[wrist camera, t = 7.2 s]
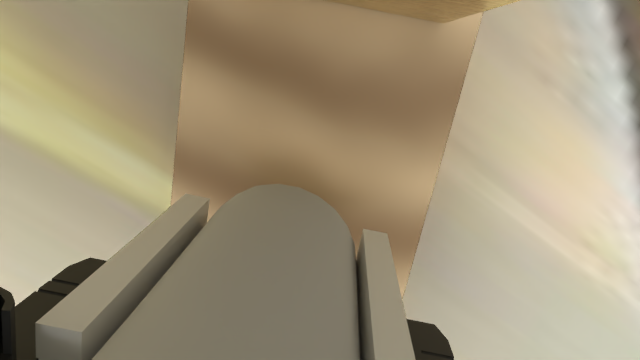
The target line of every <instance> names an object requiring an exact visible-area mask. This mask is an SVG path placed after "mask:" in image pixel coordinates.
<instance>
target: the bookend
mask: <svg viewBox="0 0 640 360" xmlns="http://www.w3.org/2000/svg"><path fill="white" fill-rule="evenodd" d="M325 1H330V2H335V3H340V4H345V5H350V6H356V7H361V8H366V9H371V10H376V11H381V12H386V13H391V14H397V15H402V16H407V17H412V18H417V19H422V20H427V21H432V22H437V23H443V24H444V23H447V22H450V21H454V20H457V19H460V18H463V17H467V16H470V15H473V14H477V13H480V12H483V11H487V10H490V9H493V8H497V7H500V6H503V5H507V4H510V3H513V2H517V1H520V0H325Z"/></svg>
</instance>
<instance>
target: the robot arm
mask: <svg viewBox="0 0 640 360" xmlns="http://www.w3.org/2000/svg"><path fill="white" fill-rule="evenodd" d="M209 201H210V198H206V197H200V196H195V195H190V194H185V195H183V196H182V197H181V198H180V199H179V200H178V201H176V202H175V203H174V204H173V205H172V206H171V207H170V208H168V209H167V210H166V211H165V212H164V213H163V214H161V215H160V216H159V217H158V218H157V219H156V220H154V221H153V222H152V223H151V224H150V225H149V226H147V227H146V228H145V229H144V230H143V231H142V232H140V233H139V234H138V235H137V236H136V237H135V238H133V239H132V240H131V241H130V242H129V243H128V244H127V245H125V246H124V247H123V248H122V249H121V250H120V251H118V252H117V253H116V254H115V255H114V256H113V257H111V258H110V259H109V260H108V261H104V260H99V259H94V258H88V259H86V260H83V261H81V262H78V263H75V264H73V265H70V266H68V267H67V268H65V269H64V270H63V271H61V272H60V273H59V274H57V275H56V276H55V277H54V278H52V281H48V282H47V283H46V284H44V285H43V286H42V287H40V288H39V290H38V292H36V291H35V292H34V293H32V294H31V295H30V296H28V297H27V298H26V299H25V300H23V301H22V302H21V303H19V304H18V305H17V306H15V301H14V298H13V296H12V294H11V293H10V292H9V291H7V290H5V289H3V288H1V287H0V360H91V359H92V358H93V357H94V356H95V355H96V354H97V353H98V351H99V350H100V349H101V348H102V347H103V346H104V344H105V343H106V342H107V341H108V340H109V339H110V338H111V336H112V335H113V334H114V333H115V332H116V331H117V330H118V328H119V327H120V326H121V325H122V324H123V323H124V321H125V320H126V319H127V318H128V317H129V316H130V314H131V313H132V312H133V311H134V310H135V308H136V307H137V306H138V305H139V304H140V302H141V301H142V300H143V299H144V298H145V297H146V295H147V294H148V293H149V292H150V291H151V289H152V288H153V287H154V286H155V285H156V283H157V282H158V281H159V280H160V279H161V277H162V276H163V275H164V274H165V273H166V271H167V270H168V269H169V268H170V267H171V265H172V264H173V263H174V262H175V261H176V259H177V258H178V257H179V256H180V255H181V253H182V252H183V251H184V250H185V249H186V247H187V246H188V245H189V244H190V243H191V241H192V240H193V239H194V238H195V237H196V235H197V234H198V233H199V232H200V231H201V229H202V228H203V227H204V226H205V224H206V223H207V218H208V209H209ZM356 268H357V290H358V312H359V334H360V356H361V360H454V356H453V353H452V350H451V347H450V345H449V342H448V340H447V339H446V337H445V336H444V335H443V334H442V333H441V332H440V330H439V329H438V328H437V327H436V326H435V325H434V324H429V323H424V322H419V321H414V320H408V319H406V315H405V310H404V306H403V301H402V297H401V293H400V288H399V284H398V279H397V275H396V270H395V266H394V261H393V257H392V252H391V248H390V244H389V239H388V235H387V233H382V232H377V231H372V230H367V229H363V231H362V235H361V240H360V244H359V248H358V252H357V257H356Z"/></svg>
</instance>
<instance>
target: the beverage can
mask: <svg viewBox="0 0 640 360" xmlns="http://www.w3.org/2000/svg"><path fill="white" fill-rule="evenodd" d="M91 360H361V356H360V334H359V312H358V290H357V268H356V254H355V244H354V241H353V239H352V236H351V233H350V231H349V228H348V226H347V225H346V223H345V222H344V220H343V219H342V218H341V216H340V215H339V214H338V212H337V211H336V210H335V209H334V208H333V207H332V206H330V205H329V204H328V203H327V202H325V201H324V200H323V199H322V198H320V197H319V196H317V195H315V194H313V193H311V192H308V191H306V190H304V189H302V188H300V187H295V186H289V185H283V184H269V185H259V186H255V187H252V188H250V189H248V190H245V191H243V192H241V193H238V194H237V195H235V196H234V197H233V198H231V199H230V200H229V201H227V202H226V203H225V204H223V205H222V206H221V207H220V208H219V209H218V210H217V212H216V213H215V214H214V215H213V216H212V217H211V219H210V220H209V221H208V222H207V223H206V224H205V226H204V227H203V228H202V229H201V231H200V232H199V233H198V234H197V235H196V237H195V238H194V239H193V240H192V241H191V243H190V244H189V245H188V246H187V247H186V249H185V250H184V251H183V252H182V253H181V255H180V256H179V257H178V258H177V259H176V261H175V262H174V263H173V264H172V265H171V267H170V268H169V269H168V270H167V271H166V273H165V274H164V275H163V276H162V277H161V279H160V280H159V281H158V282H157V283H156V285H155V286H154V287H153V288H152V289H151V291H150V292H149V293H148V294H147V295H146V297H145V298H144V299H143V300H142V301H141V302H140V304H139V305H138V306H137V307H136V308H135V310H134V311H133V312H132V313H131V314H130V316H129V317H128V318H127V319H126V320H125V321H124V323H123V324H122V325H121V326H120V327H119V328H118V330H117V331H116V332H115V333H114V334H113V335H112V336H111V338H110V339H109V340H108V341H107V342H106V343H105V344H104V346H103V347H102V348H101V349H100V350H99V351H98V353H97V354H96V355H95V356H94V357H93V358H92V359H91Z"/></svg>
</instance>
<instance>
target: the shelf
mask: <svg viewBox="0 0 640 360" xmlns="http://www.w3.org/2000/svg"><path fill="white" fill-rule="evenodd" d="M483 12H484V11H483ZM483 12H480V13H477V14H473V15H470V16H467V17H463V18H460V19H457V20H454V21H450V22H447V23H444V24H443V23H437V22H432V21H427V20H422V19H417V18H412V17H407V16H402V15H397V14H391V13H386V12H381V11H376V10H371V9H366V8H361V7H356V6H350V5H345V4H340V3H335V2H330V1H325V0H188V11H187V22H186V34H185V45H184V57H183V69H182V80H181V92H180V103H179V115H178V127H177V138H176V150H175V162H174V173H173V185H172V196H171V206H172V205H173V204H174V203H175V202H176V201H178V200H179V199H180V198H181V197H182V196H183V195H185V194H190V195H195V196H200V197H206V198H210V201H209V209H208V218H207V222H208V221H209V220H210V219H211V217H212V216H213V215H214V214H215V213H216V212H217V210H218V209H219V208H220V207H221V206H222V205H223V204H225V203H226V202H227V201H229V200H230V199H231V198H233V197H234V196H235V195H237V194H238V193H241V192H243V191H245V190H248V189H250V188H252V187H255V186H259V185H269V184H283V185H289V186H295V187H300V188H302V189H304V190H306V191H308V192H311V193H313V194H315V195H317V196H319V197H320V198H322V199H323V200H324V201H325V202H327V203H328V204H329V205H330V206H332V207H333V208H334V209H335V210H336V211H337V212H338V214H339V215H340V216H341V218H342V219H343V220H344V222H345V223H346V225H347V226H348V228H349V231H350V233H351V236H352V239H353V241H354V244H355V254H356V257H357V252H358V248H359V244H360V240H361V235H362V231H363V229H367V230H372V231H377V232H382V233H387V235H388V239H389V244H390V248H391V252H392V257H393V261H394V266H395V270H396V275H397V279H398V284H399V288H400V293H401V297H402V299H403V295H404V292H405V288H406V285H407V281H408V277H409V274H410V270H411V267H412V263H413V260H414V256H415V253H416V249H417V246H418V242H419V238H420V235H421V231H422V228H423V224H424V221H425V217H426V214H427V210H428V207H429V203H430V200H431V196H432V192H433V189H434V185H435V182H436V178H437V175H438V171H439V168H440V164H441V161H442V157H443V153H444V150H445V146H446V143H447V139H448V136H449V132H450V129H451V125H452V122H453V118H454V115H455V111H456V107H457V104H458V100H459V97H460V93H461V90H462V86H463V83H464V79H465V76H466V72H467V68H468V65H469V61H470V58H471V54H472V51H473V47H474V44H475V40H476V37H477V33H478V30H479V26H480V22H481V19H482V15H483Z"/></svg>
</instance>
